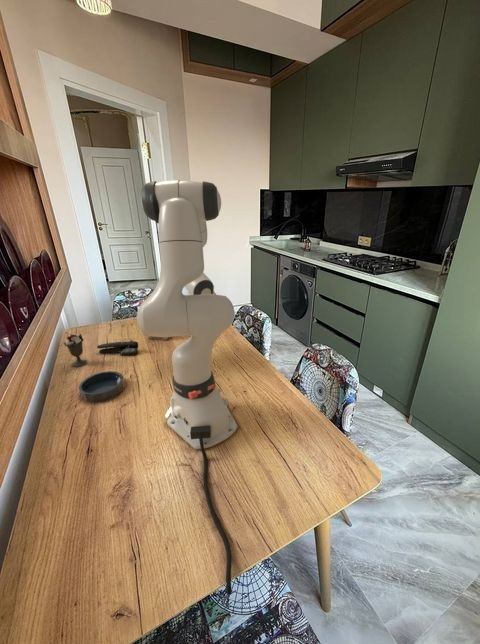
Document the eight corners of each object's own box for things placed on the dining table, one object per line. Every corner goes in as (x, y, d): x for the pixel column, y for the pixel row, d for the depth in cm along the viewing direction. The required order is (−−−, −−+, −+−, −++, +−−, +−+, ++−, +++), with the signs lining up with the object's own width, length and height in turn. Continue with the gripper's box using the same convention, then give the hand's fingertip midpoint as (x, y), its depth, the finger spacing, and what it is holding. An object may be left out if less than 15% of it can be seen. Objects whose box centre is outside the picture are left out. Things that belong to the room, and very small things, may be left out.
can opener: (142, 349, 130) (140, 338, 127) (136, 357, 123) (133, 345, 121) (103, 348, 130) (100, 337, 127) (94, 356, 123) (91, 344, 121)
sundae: (67, 369, 114) (58, 334, 108) (73, 360, 120) (64, 327, 114) (86, 366, 116) (77, 333, 110) (90, 358, 122) (82, 326, 116)
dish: (129, 392, 101) (127, 384, 100) (85, 408, 93) (82, 399, 92) (119, 375, 111) (117, 367, 109) (78, 387, 103) (76, 379, 102)
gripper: (168, 293, 123) (135, 299, 115) (189, 307, 108) (152, 315, 100) (170, 307, 125) (137, 314, 118) (191, 322, 111) (155, 332, 103)
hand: (144, 315), depth 109 cm, fingers closed on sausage, 3 cm apart
